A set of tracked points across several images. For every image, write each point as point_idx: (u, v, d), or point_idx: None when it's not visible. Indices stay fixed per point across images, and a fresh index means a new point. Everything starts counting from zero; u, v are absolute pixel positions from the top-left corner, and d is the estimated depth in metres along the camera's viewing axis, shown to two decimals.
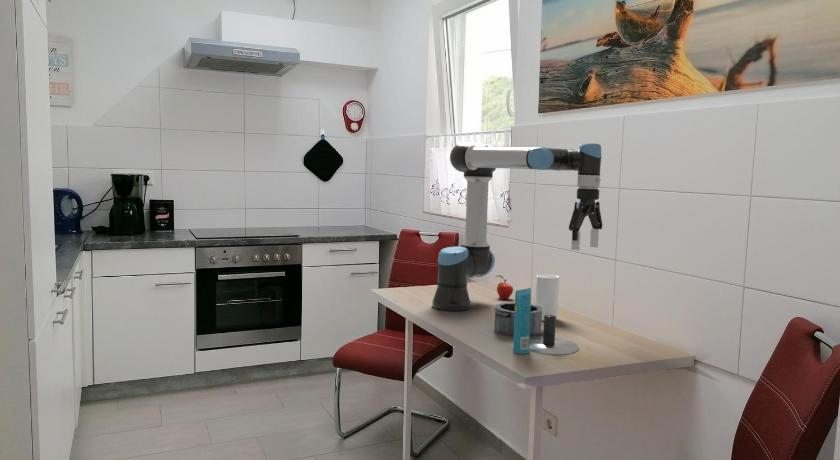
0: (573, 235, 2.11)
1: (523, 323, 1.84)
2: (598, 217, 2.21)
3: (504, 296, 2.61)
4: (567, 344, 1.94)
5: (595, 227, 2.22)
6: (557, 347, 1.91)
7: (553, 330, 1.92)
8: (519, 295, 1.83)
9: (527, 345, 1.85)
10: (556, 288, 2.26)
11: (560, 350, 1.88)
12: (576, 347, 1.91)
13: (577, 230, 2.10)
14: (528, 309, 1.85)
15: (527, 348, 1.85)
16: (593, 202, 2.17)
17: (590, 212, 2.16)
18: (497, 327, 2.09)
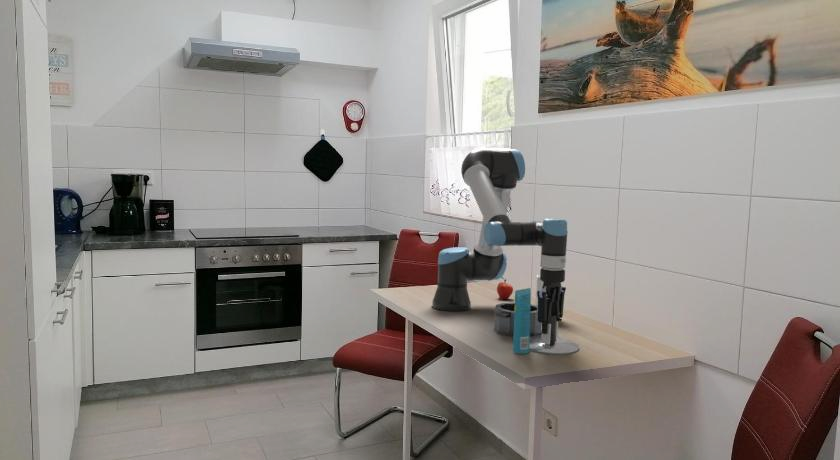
0: (543, 328, 1.91)
1: (523, 323, 1.84)
2: (560, 305, 1.96)
3: (504, 296, 2.61)
4: (568, 343, 1.94)
5: None
6: (558, 346, 1.91)
7: (553, 329, 1.92)
8: (519, 295, 1.83)
9: (527, 345, 1.85)
10: None
11: (560, 349, 1.88)
12: (576, 346, 1.91)
13: (547, 323, 1.90)
14: (528, 309, 1.85)
15: (527, 348, 1.85)
16: (559, 283, 1.93)
17: (555, 295, 1.92)
18: (497, 327, 2.09)
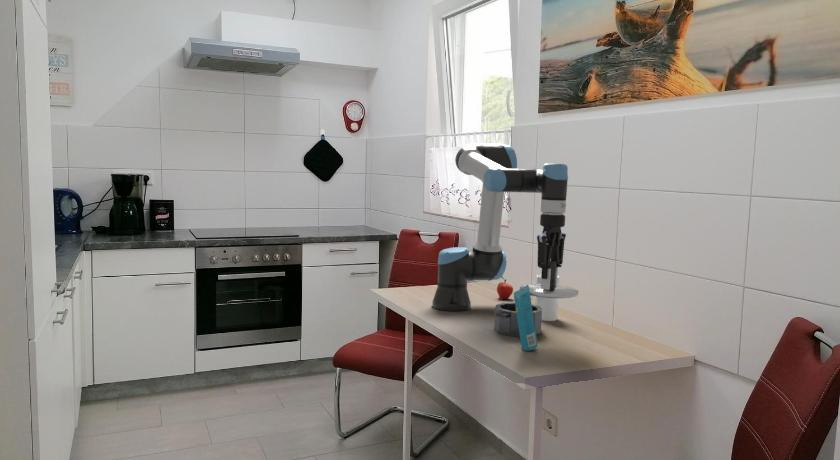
0: (542, 273, 1.91)
1: (526, 322, 1.85)
2: (560, 251, 1.95)
3: (504, 296, 2.61)
4: (567, 289, 1.94)
5: None
6: (557, 291, 1.91)
7: (553, 275, 1.92)
8: (518, 296, 1.84)
9: (534, 341, 1.87)
10: None
11: (560, 293, 1.87)
12: (576, 291, 1.91)
13: (547, 268, 1.90)
14: (529, 307, 1.86)
15: (535, 344, 1.87)
16: (559, 228, 1.93)
17: (555, 241, 1.92)
18: (497, 327, 2.09)
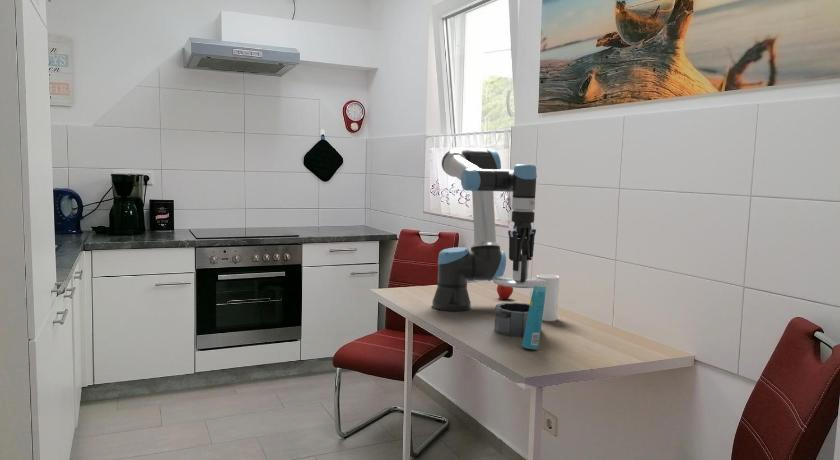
0: (514, 265, 2.06)
1: (536, 319, 1.87)
2: (530, 245, 2.11)
3: (504, 296, 2.61)
4: (537, 280, 2.10)
5: None
6: (528, 282, 2.07)
7: (524, 267, 2.08)
8: (537, 291, 1.87)
9: (537, 341, 1.88)
10: (556, 288, 2.26)
11: (530, 284, 2.03)
12: (545, 282, 2.07)
13: (518, 261, 2.06)
14: (542, 306, 1.89)
15: (537, 344, 1.88)
16: (530, 224, 2.09)
17: (525, 235, 2.08)
18: (497, 327, 2.09)
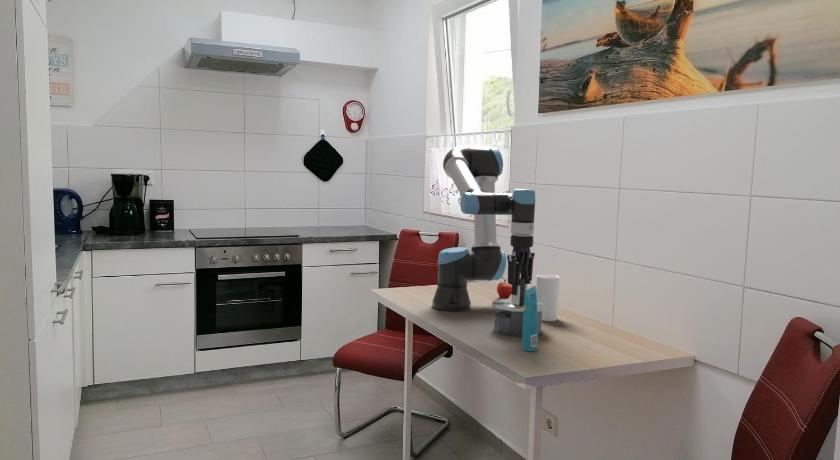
0: (512, 289, 2.07)
1: (532, 322, 1.86)
2: (529, 269, 2.12)
3: (504, 296, 2.61)
4: None
5: None
6: None
7: (523, 291, 2.08)
8: (529, 295, 1.84)
9: (536, 342, 1.88)
10: (556, 288, 2.26)
11: None
12: (544, 306, 2.08)
13: (517, 285, 2.06)
14: (536, 307, 1.87)
15: (536, 345, 1.88)
16: (528, 248, 2.10)
17: (524, 260, 2.09)
18: (497, 327, 2.09)
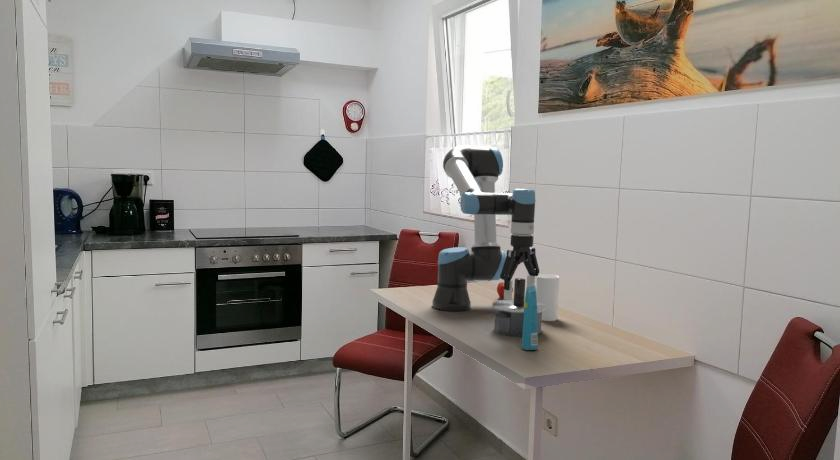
0: (505, 284, 2.04)
1: (533, 320, 1.87)
2: (534, 263, 2.14)
3: None
4: None
5: (531, 274, 2.15)
6: None
7: (522, 292, 2.09)
8: (529, 292, 1.87)
9: (537, 341, 1.88)
10: (556, 288, 2.26)
11: None
12: (544, 307, 2.08)
13: (509, 279, 2.03)
14: (536, 305, 1.90)
15: (537, 344, 1.88)
16: (528, 249, 2.10)
17: (524, 259, 2.09)
18: (497, 327, 2.09)
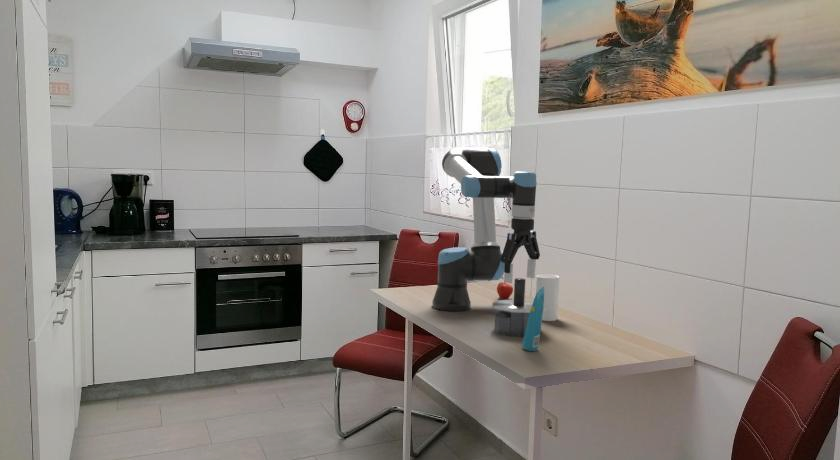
0: (505, 267, 2.03)
1: (538, 323, 1.85)
2: (535, 247, 2.14)
3: (504, 296, 2.61)
4: None
5: (532, 257, 2.14)
6: (526, 307, 2.08)
7: (522, 292, 2.09)
8: (538, 297, 1.83)
9: (538, 342, 1.88)
10: (556, 288, 2.26)
11: (528, 309, 2.04)
12: (544, 307, 2.08)
13: (509, 262, 2.02)
14: (542, 308, 1.86)
15: (537, 345, 1.88)
16: (528, 232, 2.09)
17: (525, 243, 2.08)
18: (497, 327, 2.09)
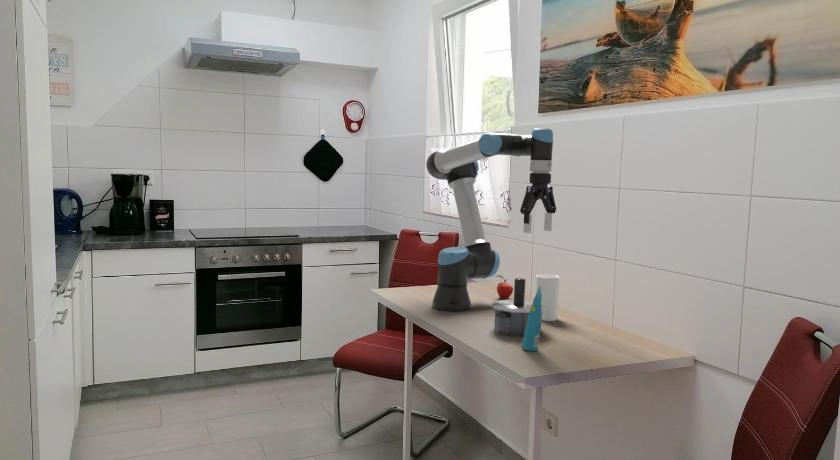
0: (524, 218, 2.16)
1: (538, 323, 1.85)
2: (551, 201, 2.26)
3: (504, 296, 2.61)
4: None
5: (549, 211, 2.27)
6: (526, 307, 2.08)
7: (522, 292, 2.09)
8: (538, 296, 1.83)
9: (538, 342, 1.88)
10: (556, 288, 2.26)
11: (528, 309, 2.04)
12: (544, 307, 2.08)
13: (528, 213, 2.15)
14: None
15: None
16: (546, 186, 2.22)
17: (542, 196, 2.21)
18: (497, 327, 2.09)
